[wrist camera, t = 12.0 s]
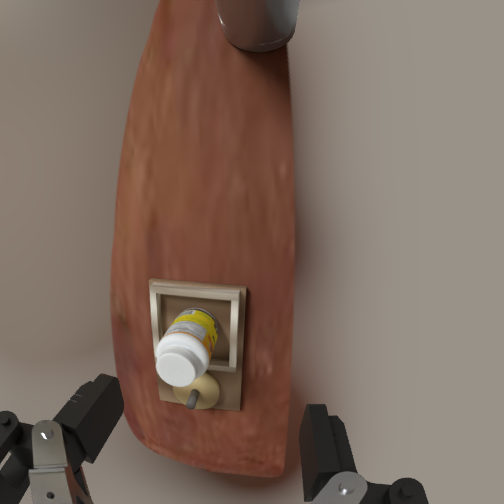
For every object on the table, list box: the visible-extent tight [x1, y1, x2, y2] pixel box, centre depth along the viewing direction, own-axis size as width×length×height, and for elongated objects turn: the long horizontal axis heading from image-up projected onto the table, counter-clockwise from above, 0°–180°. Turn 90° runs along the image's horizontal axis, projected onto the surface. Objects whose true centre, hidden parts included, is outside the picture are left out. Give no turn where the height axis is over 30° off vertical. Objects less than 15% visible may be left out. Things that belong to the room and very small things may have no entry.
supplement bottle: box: [156, 308, 219, 387], centre depth 30 cm, size 6×6×10 cm
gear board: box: [149, 278, 247, 411], centre depth 34 cm, size 19×12×6 cm, turn 177°
